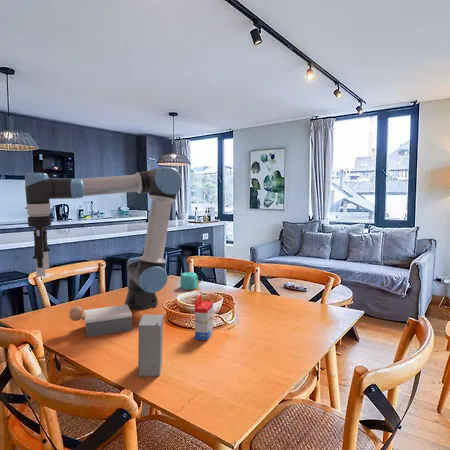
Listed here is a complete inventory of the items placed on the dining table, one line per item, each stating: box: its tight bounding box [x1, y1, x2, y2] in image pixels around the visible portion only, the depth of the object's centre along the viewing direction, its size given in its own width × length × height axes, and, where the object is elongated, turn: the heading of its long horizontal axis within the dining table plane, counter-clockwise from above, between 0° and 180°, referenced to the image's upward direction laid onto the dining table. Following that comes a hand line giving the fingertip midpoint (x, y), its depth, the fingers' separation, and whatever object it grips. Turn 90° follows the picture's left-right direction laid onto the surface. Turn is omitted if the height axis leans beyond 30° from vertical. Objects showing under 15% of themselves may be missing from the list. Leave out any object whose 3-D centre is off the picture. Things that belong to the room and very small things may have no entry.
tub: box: [85, 317, 133, 338], centre depth 134 cm, size 16×12×6 cm
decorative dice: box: [179, 271, 199, 291], centre depth 193 cm, size 8×8×8 cm
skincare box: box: [137, 314, 164, 378], centre depth 103 cm, size 8×7×16 cm
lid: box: [69, 304, 133, 324], centre depth 133 cm, size 22×13×4 cm, turn 114°
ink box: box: [194, 294, 214, 341], centre depth 127 cm, size 8×5×15 cm, turn 168°
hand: (43, 272), depth 129 cm, fingers open, 13 cm apart
